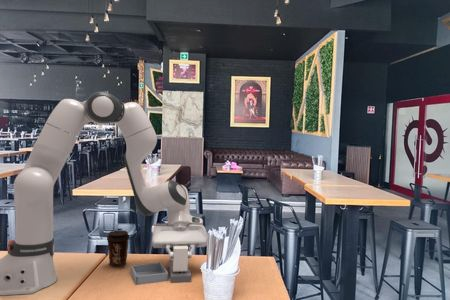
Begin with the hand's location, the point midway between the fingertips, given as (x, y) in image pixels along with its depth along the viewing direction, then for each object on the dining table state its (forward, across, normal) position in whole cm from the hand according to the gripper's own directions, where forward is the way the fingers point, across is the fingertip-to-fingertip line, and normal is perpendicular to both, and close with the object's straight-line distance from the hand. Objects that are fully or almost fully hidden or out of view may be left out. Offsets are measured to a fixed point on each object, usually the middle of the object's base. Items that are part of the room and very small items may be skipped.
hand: (180, 257), depth 125 cm
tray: (+4, -11, +8) cm, 14 cm away
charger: (+4, 0, +5) cm, 7 cm away
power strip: (+2, 0, +9) cm, 9 cm away
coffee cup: (-5, -23, +17) cm, 29 cm away
